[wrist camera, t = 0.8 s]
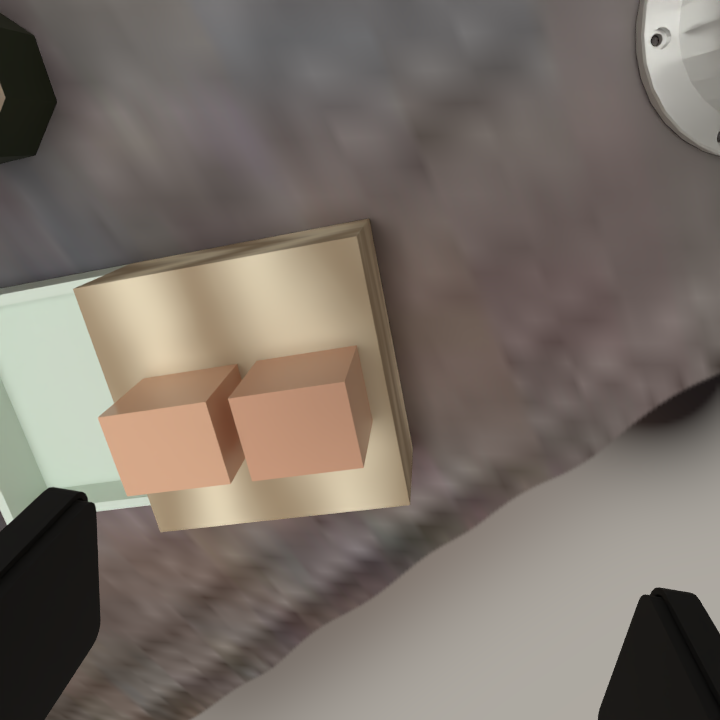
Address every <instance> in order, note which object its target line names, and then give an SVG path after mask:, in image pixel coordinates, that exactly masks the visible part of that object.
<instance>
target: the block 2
mask: <svg viewBox="0 0 720 720" xmlns="http://www.w3.org/2000/svg"><path fill="white" fill-rule="evenodd" d="M228 401H229V404H230V407H231V411H232V414H233V418H234V421H235V424H236V428H237V431H238V435H239V438H240V442H241V445H242V448H243V452H244V455H245V459H246V462H247V465H248V469H249V472H250V476H251V479H252V481H260V480H268V479H276V478H285V477H293V476H301V475H310V474H318V473H326V472H334V471H343V470H351V469H359V468H364V464H365V459H366V454H367V449H368V444H369V439H370V433H371V428H372V423H373V419H372V414H371V410H370V405H369V400H368V395H367V391H366V386H365V381H364V376H363V372H362V367H361V362H360V357H359V353H358V348H357V345H355V346H349V347H342V348H336V349H330V350H323V351H317V352H310V353H304V354H297V355H291V356H284V357H278V358H272V359H265V360H259V361H256V362H255V364H254V365H253V366H252V367H251V369H250V370H249V371H248V373H247V374H246V375H245V377H244V378H243V379H242V381H241V382H240V383H239V385H238V386H237V387H236V389H235V390H234V391H233V393H232V394H231V395H230V397H229V398H228Z"/></svg>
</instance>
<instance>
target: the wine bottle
mask: <svg viewBox="0 0 720 720" xmlns="http://www.w3.org/2000/svg"><path fill="white" fill-rule="evenodd" d="M56 103H57V101H56V98H55V95H54V92H53V89H52V87H51V84H50V81H49V78H48V75H47V72H46V69H45V66H44V63H43V60H42V57H41V55H40V52H39V49H38V46H37V43H36V40H35V37H34V35H32V34H31V33H29V32H28V31H26V30H25V29H23V28H22V27H20V26H19V25H17V24H16V23H14V22H13V21H11V20H10V19H8V18H7V17H5V16H4V15H2V14H1V13H0V164H1V163H5V162H9V161H13V160H18V159H22V158H26V157H30V156H34V155H36V152H37V150H38V147H39V145H40V142H41V140H42V137H43V135H44V132H45V130H46V127H47V125H48V122H49V120H50V118H51V115H52V113H53V110H54V108H55V105H56Z"/></svg>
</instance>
